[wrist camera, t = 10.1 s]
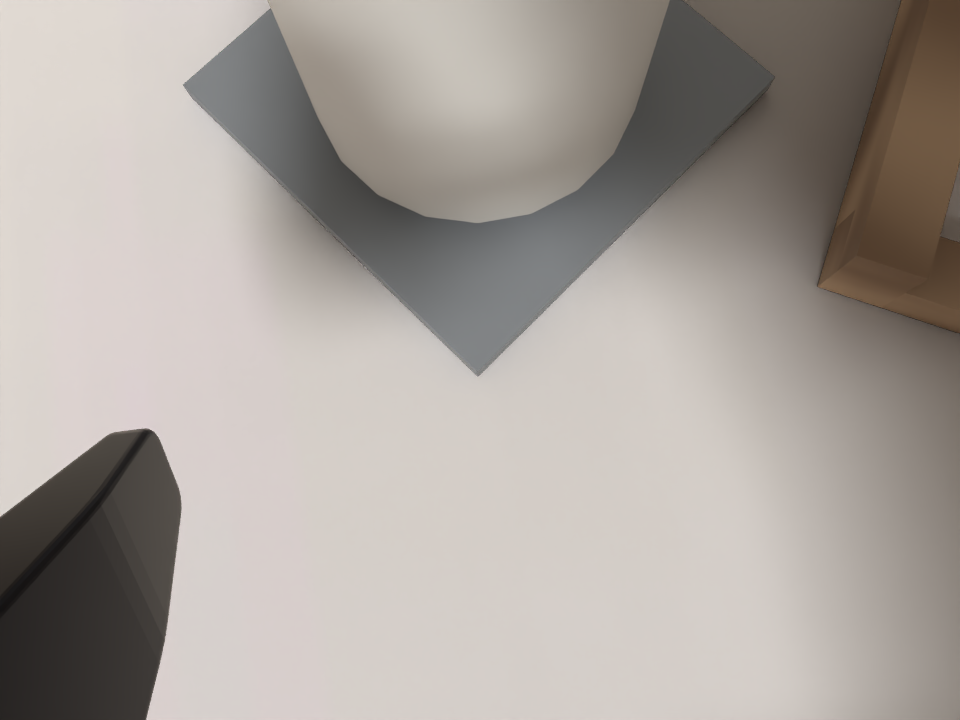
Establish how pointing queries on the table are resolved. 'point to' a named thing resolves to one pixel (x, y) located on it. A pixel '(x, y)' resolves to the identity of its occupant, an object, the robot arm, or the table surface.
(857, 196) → the brown square frame
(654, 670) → the table surface
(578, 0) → the can
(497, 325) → the coaster
